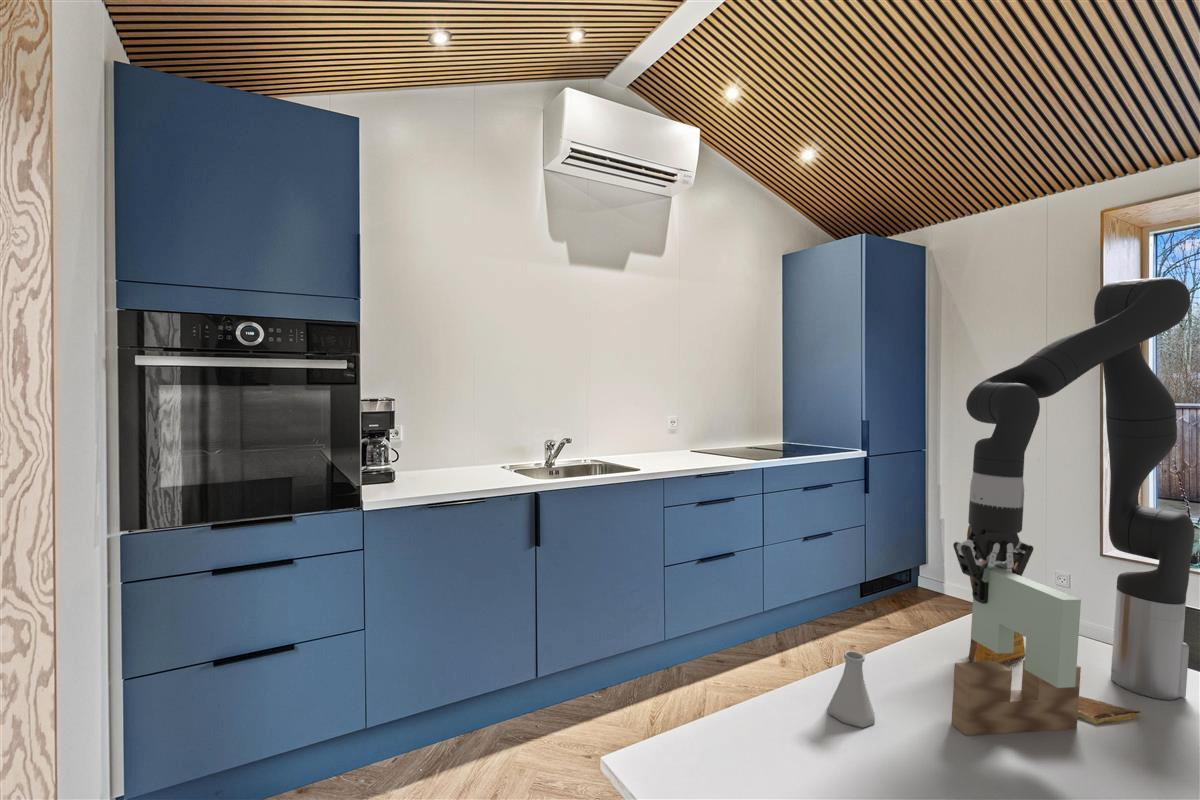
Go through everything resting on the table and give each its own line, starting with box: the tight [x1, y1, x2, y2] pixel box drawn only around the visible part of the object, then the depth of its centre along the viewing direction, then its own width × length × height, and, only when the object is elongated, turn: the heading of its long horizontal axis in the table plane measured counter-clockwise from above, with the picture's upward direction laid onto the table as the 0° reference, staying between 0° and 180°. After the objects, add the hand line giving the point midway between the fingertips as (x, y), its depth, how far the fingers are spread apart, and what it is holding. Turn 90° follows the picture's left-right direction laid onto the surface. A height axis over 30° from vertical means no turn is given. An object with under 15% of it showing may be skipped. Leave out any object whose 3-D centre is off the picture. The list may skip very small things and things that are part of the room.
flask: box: [827, 649, 875, 729], centre depth 93 cm, size 7×7×10 cm
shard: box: [1078, 695, 1142, 725], centre depth 96 cm, size 11×8×2 cm
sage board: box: [970, 566, 1082, 688], centre depth 91 cm, size 16×3×13 cm, turn 9°
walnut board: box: [950, 659, 1082, 737], centre depth 92 cm, size 20×3×10 cm, turn 99°
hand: (990, 601), depth 97 cm, fingers closed on sage board, 3 cm apart
